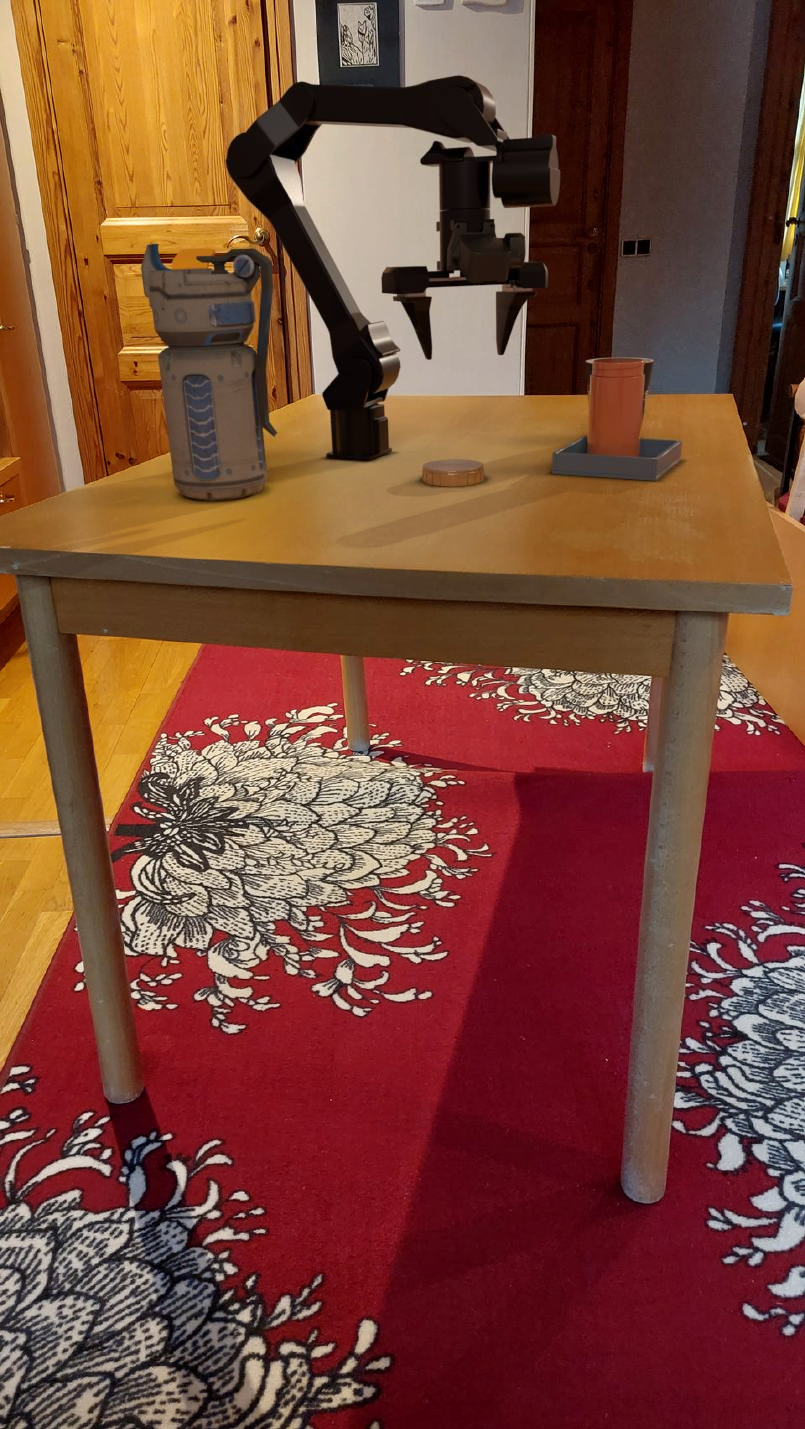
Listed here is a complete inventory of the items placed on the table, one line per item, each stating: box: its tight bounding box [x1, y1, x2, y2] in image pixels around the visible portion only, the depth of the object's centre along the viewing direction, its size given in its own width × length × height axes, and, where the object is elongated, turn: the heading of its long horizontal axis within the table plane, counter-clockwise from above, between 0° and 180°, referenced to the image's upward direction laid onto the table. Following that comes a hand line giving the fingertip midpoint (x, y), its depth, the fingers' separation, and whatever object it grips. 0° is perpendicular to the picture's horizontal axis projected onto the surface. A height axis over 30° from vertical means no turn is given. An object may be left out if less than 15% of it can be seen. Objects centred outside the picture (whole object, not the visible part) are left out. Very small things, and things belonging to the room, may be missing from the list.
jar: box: [586, 357, 645, 457], centre depth 112 cm, size 6×6×12 cm
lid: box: [421, 458, 485, 488], centre depth 111 cm, size 7×7×2 cm
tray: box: [551, 435, 683, 482], centre depth 114 cm, size 12×12×2 cm
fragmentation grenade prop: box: [140, 243, 278, 502], centre depth 103 cm, size 10×13×25 cm
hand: (465, 357), depth 117 cm, fingers open, 9 cm apart
